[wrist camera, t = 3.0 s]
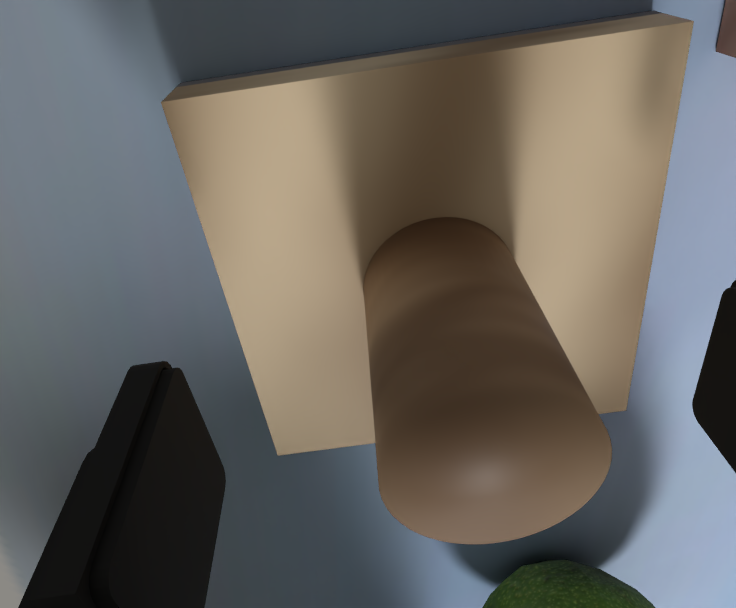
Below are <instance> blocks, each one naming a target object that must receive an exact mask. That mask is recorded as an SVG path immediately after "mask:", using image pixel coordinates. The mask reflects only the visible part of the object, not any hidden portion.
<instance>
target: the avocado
mask: <svg viewBox="0 0 736 608" xmlns="http://www.w3.org/2000/svg"><path fill="white" fill-rule="evenodd" d="M483 608H655V607H654V606H653V604H652V603H651V602H649V601H648V600H647V599H646V598H645V597H644V596H643V595H642V594H641V593H639V592H638V591H637V590H636V589H634V588H633V587H631V586H629V585H627V584H626V583H624V582H622V581H620V580H619V579H617V578H615V577H613V576H611V575H610V574H608V573H606V572H604V571H602V570H601V569H598V568H594V567H590V566H587V565H583V564H580V563H576V562H572V561H569V560H549V561H544V562H539V563H534V564H529V565H524V566H521V567H520V568H518V569H517V570H516V571H515V572H514V573H512V574H511V575H510V576H509V577H508V578H506V579H505V580H504V581H503V582H502V583H501V584H500V585H499V586H498V587H497V588H496V589H495V590H494V591H493V592H492V593H491V594H490V596H489V598H488V599H487V601H486V603H485V604H484V606H483Z"/></svg>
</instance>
